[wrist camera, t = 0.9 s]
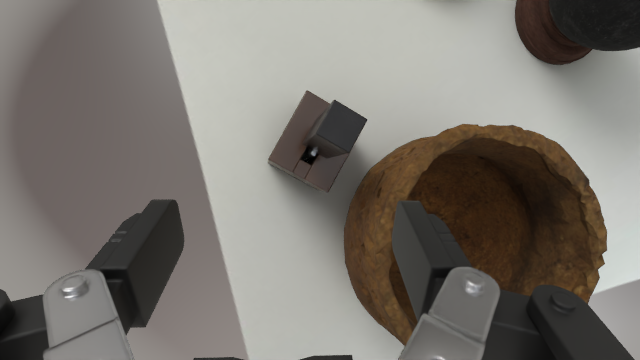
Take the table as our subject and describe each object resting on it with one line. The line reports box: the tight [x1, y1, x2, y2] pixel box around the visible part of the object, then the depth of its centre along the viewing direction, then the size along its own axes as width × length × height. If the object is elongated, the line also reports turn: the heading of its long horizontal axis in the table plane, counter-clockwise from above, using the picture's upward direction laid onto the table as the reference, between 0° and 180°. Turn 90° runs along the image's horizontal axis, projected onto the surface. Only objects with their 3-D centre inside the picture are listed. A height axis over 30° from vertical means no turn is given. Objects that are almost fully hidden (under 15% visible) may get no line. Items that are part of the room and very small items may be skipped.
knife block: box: [268, 91, 349, 192], centre depth 33 cm, size 6×7×6 cm
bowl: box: [344, 124, 607, 346], centre depth 31 cm, size 19×19×15 cm
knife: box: [301, 100, 367, 160], centre depth 28 cm, size 2×3×16 cm
